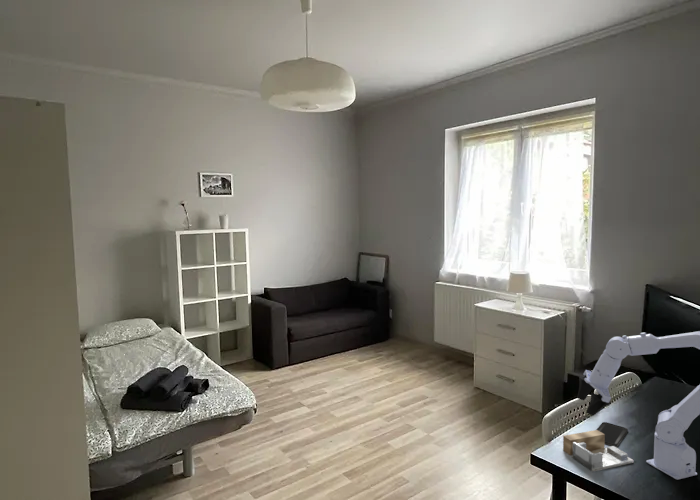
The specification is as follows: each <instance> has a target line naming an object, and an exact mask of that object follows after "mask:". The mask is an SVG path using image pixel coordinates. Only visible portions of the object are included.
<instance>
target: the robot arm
mask: <svg viewBox="0 0 700 500" xmlns="http://www.w3.org/2000/svg"><path fill="white" fill-rule="evenodd" d="M690 347H691V348H692V347H693V348H696V349H698V350H700V330H698V331H693V332H691V331H690V332H685V333H684V332H683V333H679V334H672V335H665V336H655V335H653V334H652V333H647V332H640V333H639V334H638V335H636V334H635V335H630V336H627V335H626V334H625V335H622V337H621V336H613V337H611V338H610V339H609V340H608V342H607V343H606V345H605V349H604V350H603V351H602V354H601V355H600V357H599V358H598V360H597V362H596V363H595V366H594V367H593V369H592V371H591V370H588V369H585V370H584V372H583V373H582V374H583V376H579V377H578V382H579V383H578V392H577V397H576V398H577V399H578V400H581V401H585V400H586V399H587V397H588V396H589V395H590V401H589V404H588V405H587V406H588V407H587V410H586V413H587V415H591V416H594V415H596V414H597V413H598V412H600V411H601V409H603V408H605V407H607V406H610V405H611V403H612V402H611V400H612V397H611V394H610V391H609V390H610V389H609V386H610V385H611V383H612V382H613V379H614V377H615V376H616V374H617V372H618V371H619V369H620V367H621V364H622V361H623V359H625V358H627V357H628V356H631V357H632V356H633V357H634V356H642V355H653V354H655V355H656V354H657V353H658V352H659V351H660V350H661V349H676V348H690ZM593 390H595V391H596V392H597V394H596V393H593V392H592V391H593ZM698 416H700V384H699V385H697V386H696V387H695V388H694V389H693V390H692V391H691V392H690V393H688V395H687V396H685V397H684V398H683V399H682V400H681V401H680V402H679V403H678V404H675V405H673V406H672V407H670V408H669V409H665V410H663V411H661V412H659V414H658V416H657V424H656V425H655V431H654V436H653V437H654V440H653V441H654V442H653V458H651V459H647V460H646V461H645V462H646V463H647V464H648V465H651V466H652V467H653V468H655V469H657V470H659V471H660V472H663V473H664V474H666V475H668V476H670V477H671V478H673V479H675V480H681V479H686V478H689V477H693V476H697V475H698V472H696V471H697V470H696V467H697V465H696V464H697V453H696V450H695V449H694V448H693V447H691V446H690V445H689V444H688V443H687V442H686V438H685V437H684V433H685V431H687V430H688V428H689V427H690V426H691V424H692V423H693V421H694V420H695V419H696V418H697V417H698Z"/></svg>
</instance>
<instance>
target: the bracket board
mask: <svg viewBox="0 0 700 500" xmlns="http://www.w3.org/2000/svg"><path fill="white" fill-rule="evenodd" d="M571 458H572V459H573V460H574V461H576V462H577V463H579V464H581V465H582V467H585V468H586V469H588V470H589V471H591V472H592V473H594V472H599V471H603V470H606V469H607V470H608V469H611V468H616V467H621V466H624V465H629V464H633V463H634V459H632V458H631V457H629V454H628V453H627V452H625V451H624V450H622V449H619V448H618V447H615V446H610V445H609V446H607V447H604V448H602V449H598V450H593V451H589V450H587V449H586V443H584V442H582V443H576V442H573V455H571Z"/></svg>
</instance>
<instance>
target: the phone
mask: <svg viewBox="0 0 700 500" xmlns="http://www.w3.org/2000/svg"><path fill="white" fill-rule="evenodd" d="M596 430H598V431H600V432H602V433H603V434H605V444H604V445H608V446H609V447H610V446H615V447H616V448H618V446H619V445H620V444H621V442H622V441H623V440H624V438H625V436H626V435H627V434H628V428H627V427H624V426H620V425H618V424H614V423H609V422H607V421H602V422H601V424H600V425H598V427H597V428H596Z"/></svg>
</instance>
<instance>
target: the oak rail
mask: <svg viewBox="0 0 700 500" xmlns="http://www.w3.org/2000/svg"><path fill="white" fill-rule="evenodd" d="M562 439H563V440H562V442H563V443H562V447H563V448H562V451H563V452H565V453H566V454H567V455H568V456H572V455H573V442H576V443H582V442H584V443H586V449H587V450H589V451H593V450H598V449H602V448H605V445H606V444H605V434H603V433H602V432H600V431H598V430H597V429H594V430H589V431H588V430H587V431H584V432H578V433H572V434H566V435H563V437H562Z"/></svg>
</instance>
